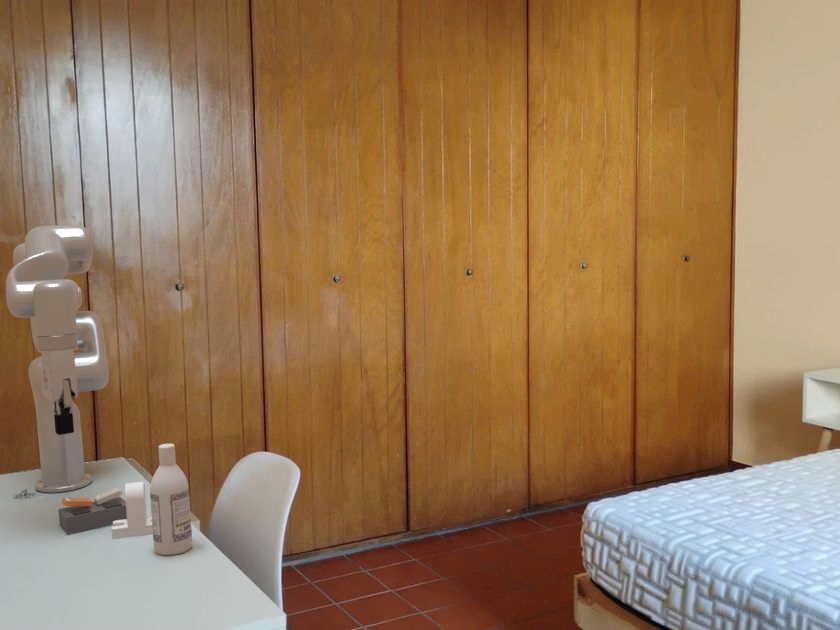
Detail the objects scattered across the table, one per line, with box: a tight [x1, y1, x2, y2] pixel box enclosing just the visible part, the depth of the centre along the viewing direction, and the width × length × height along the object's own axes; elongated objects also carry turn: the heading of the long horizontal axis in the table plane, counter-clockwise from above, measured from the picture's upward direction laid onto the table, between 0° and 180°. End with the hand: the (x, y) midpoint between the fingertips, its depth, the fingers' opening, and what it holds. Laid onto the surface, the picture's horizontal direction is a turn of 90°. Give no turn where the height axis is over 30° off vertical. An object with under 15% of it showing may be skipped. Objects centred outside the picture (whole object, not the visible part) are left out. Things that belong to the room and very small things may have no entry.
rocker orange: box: [61, 497, 93, 507], centre depth 173 cm, size 3×5×1 cm, turn 125°
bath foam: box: [149, 443, 193, 556], centre depth 157 cm, size 7×7×20 cm
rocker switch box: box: [57, 495, 127, 536], centre depth 175 cm, size 10×12×4 cm
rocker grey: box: [93, 486, 124, 505], centre depth 176 cm, size 3×5×1 cm, turn 125°
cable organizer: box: [111, 481, 153, 540], centre depth 168 cm, size 5×10×10 cm, turn 106°
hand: (64, 433), depth 170 cm, fingers closed
